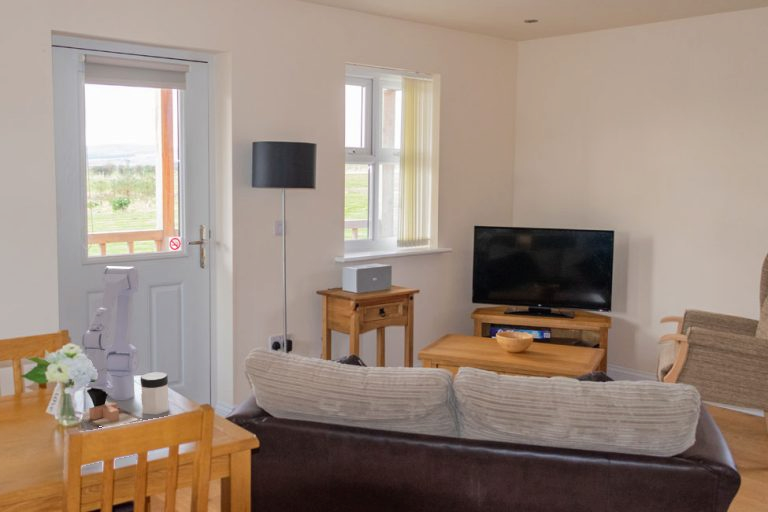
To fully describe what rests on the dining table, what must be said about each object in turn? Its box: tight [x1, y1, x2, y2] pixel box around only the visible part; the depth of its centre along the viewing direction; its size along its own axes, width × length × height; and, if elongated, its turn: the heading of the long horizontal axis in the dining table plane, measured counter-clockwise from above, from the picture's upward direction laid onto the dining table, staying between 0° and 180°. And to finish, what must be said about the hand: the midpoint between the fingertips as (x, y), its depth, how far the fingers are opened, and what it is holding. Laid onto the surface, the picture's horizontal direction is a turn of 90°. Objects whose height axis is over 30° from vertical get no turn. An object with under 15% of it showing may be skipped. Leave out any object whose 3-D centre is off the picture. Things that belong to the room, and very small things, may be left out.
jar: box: [140, 371, 170, 415], centre depth 249 cm, size 9×8×12 cm
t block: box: [88, 401, 119, 421], centre depth 242 cm, size 8×8×3 cm
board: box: [81, 407, 145, 429], centre depth 243 cm, size 20×13×1 cm, turn 49°
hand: (99, 411), depth 246 cm, fingers closed
